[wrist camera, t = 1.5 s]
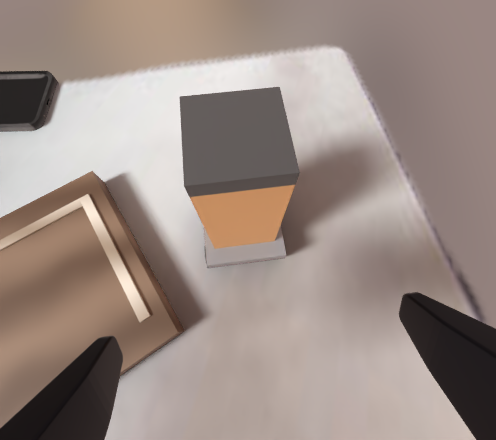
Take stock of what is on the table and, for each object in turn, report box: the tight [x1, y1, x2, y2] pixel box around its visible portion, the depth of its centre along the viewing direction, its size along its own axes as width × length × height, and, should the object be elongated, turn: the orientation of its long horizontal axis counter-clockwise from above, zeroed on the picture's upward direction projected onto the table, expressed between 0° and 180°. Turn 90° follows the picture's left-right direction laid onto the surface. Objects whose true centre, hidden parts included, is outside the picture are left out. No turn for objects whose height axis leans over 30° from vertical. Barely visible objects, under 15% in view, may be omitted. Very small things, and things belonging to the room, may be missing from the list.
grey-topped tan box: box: [180, 87, 300, 268], centre depth 17 cm, size 7×6×13 cm
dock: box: [0, 171, 184, 428], centre depth 20 cm, size 16×14×2 cm
